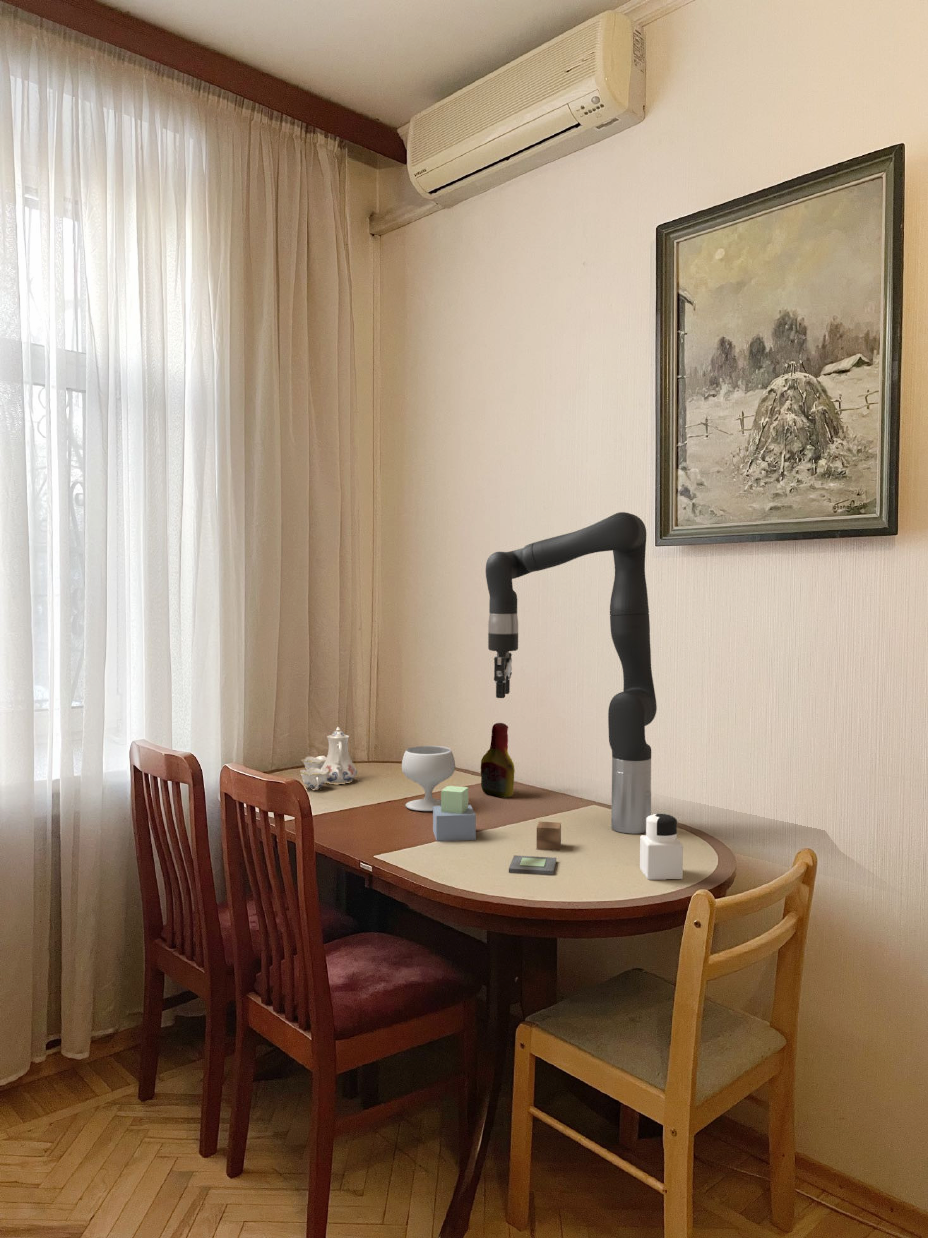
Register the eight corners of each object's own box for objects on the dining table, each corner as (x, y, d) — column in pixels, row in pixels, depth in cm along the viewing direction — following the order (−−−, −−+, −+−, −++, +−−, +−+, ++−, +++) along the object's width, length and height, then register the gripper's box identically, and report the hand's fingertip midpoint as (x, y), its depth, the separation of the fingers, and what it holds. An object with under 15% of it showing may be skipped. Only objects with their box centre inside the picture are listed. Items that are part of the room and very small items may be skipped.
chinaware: (298, 778, 284) (292, 724, 283) (353, 770, 287) (347, 717, 286) (303, 800, 257) (296, 741, 255) (363, 791, 260) (357, 732, 259)
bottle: (520, 797, 253) (520, 724, 252) (502, 801, 249) (502, 727, 249) (493, 789, 263) (494, 719, 262) (475, 792, 259) (475, 721, 258)
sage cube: (468, 808, 218) (468, 787, 218) (461, 813, 214) (461, 792, 213) (447, 806, 220) (448, 785, 220) (441, 812, 215) (441, 790, 215)
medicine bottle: (673, 868, 192) (674, 811, 192) (683, 880, 185) (683, 820, 185) (639, 869, 192) (640, 811, 192) (647, 880, 185) (648, 820, 185)
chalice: (444, 815, 234) (444, 756, 234) (393, 810, 239) (393, 752, 238) (462, 802, 248) (462, 746, 247) (413, 798, 252) (413, 743, 251)
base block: (470, 830, 222) (470, 805, 222) (475, 840, 213) (475, 815, 213) (433, 831, 221) (433, 806, 221) (436, 842, 212) (436, 816, 212)
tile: (556, 861, 197) (556, 856, 197) (552, 875, 188) (552, 870, 188) (514, 859, 199) (514, 854, 199) (508, 872, 190) (508, 867, 190)
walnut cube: (560, 844, 210) (561, 822, 210) (559, 851, 205) (559, 828, 205) (538, 843, 211) (538, 821, 210) (536, 849, 206) (536, 827, 206)
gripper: (514, 633, 226) (514, 700, 227) (521, 630, 240) (521, 692, 241) (484, 633, 227) (483, 699, 228) (492, 629, 241) (492, 692, 242)
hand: (502, 695), depth 234 cm, fingers open, 8 cm apart
